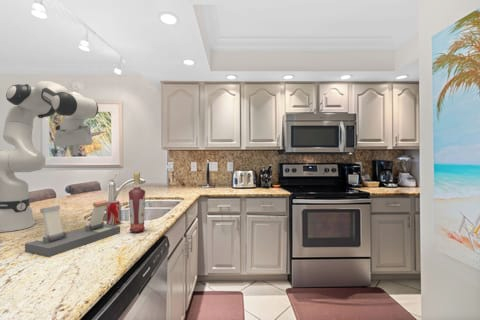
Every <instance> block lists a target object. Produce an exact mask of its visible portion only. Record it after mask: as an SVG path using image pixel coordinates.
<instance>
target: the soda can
mask: <svg viewBox="0 0 480 320" xmlns="http://www.w3.org/2000/svg"><path fill="white" fill-rule="evenodd" d="M108 202H109V203H108V205H106V209H105V219H106V220H105V221H106V225H114V226H118V225H119V224H120V223H121V221H122V206H121V205H122V204H121V202H120V200H109V201H108Z"/></svg>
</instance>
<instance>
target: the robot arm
mask: <svg viewBox="0 0 480 320" xmlns="http://www.w3.org/2000/svg"><path fill="white" fill-rule="evenodd" d="M5 97H6V100H7V101H8V102H9V103H11V104H12V105H14V106H12V107H11V108H10V109H9V111H8V112H7V116H6V118H5V122H4V127H3V134H2V138H3V140H4V141H5V142H6V143H7V144H10V145H12V146H14V147H15V148H14V149H13V150H12V149H7V150H5V149H4V150H2V149H1V150H0V233H5V232H7V233H8V232H15V231H20V230H25V229H28V228H32V227H33V226H34V225H36V224H37V221H34V213H33V209H32V208H31V207H30V206H31V205H30V203H31V201H30V198H29V184H28V183H27V181H25V180H23V179H21V178H19V177H17V176H16V174H15V173H31V172H37V171H40V170H42V169H43V168H44V167H45V165H46V162H47V161H46V157H45V155H44V154H43V153H42V152H41V151H39V150H38V149H36V147H35V146H34V144H33V129H34V121H35V118H36V117H38V118H39V119H43V118H49V117H50V116H53V115H55V114H57V115H58V116H62V118H61V122H60V123H59V124H57V125H55V126H54V129H53V130H54V132H55V133H54V144H55V147H57V148H58V147H59V148H67V149H68V151H69V155H70V156H79V151H80V147H81V146H90V145H92V144H93V134H92V131H91V128H90V126H89V125H85V119H87V120H88V119H94V118H95V117H97V115H98V113H99V105H98V103H97V101H96V100H94V99H92V98H88V97H86V96H83V95H82V94H81V93H79V92H76V91H75V92H74V91H69V89H67V87H65V86H63V85H62V84H60V83H57V82H55V81H54V82H53V81H50V80H40V81H38V82H37V83H36V85H34V86H30V85H29V84H28V83H26V84H18V83H17V84H13V85H11V86H9V88H8V89H7V90H6V93H5Z"/></svg>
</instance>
